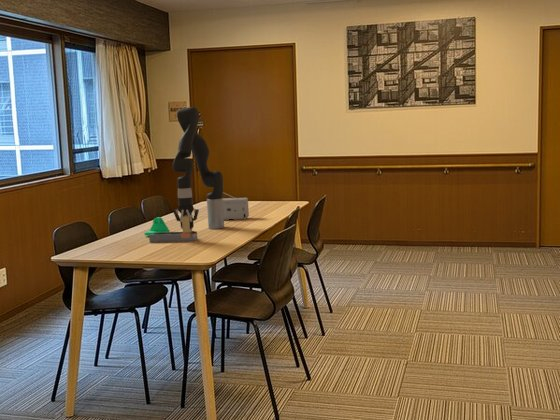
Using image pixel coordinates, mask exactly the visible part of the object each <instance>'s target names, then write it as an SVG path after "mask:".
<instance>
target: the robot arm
mask: <svg viewBox="0 0 560 420" xmlns="http://www.w3.org/2000/svg"><path fill="white" fill-rule="evenodd" d="M176 117H177V121H178V123H179V125H180V127H181V130H182V131H183V134H182V136H181V137H180V139H179V141H178V147H177V148H178V149H177V153H176V155H175V157H174V159H173V162H172V170H173V171H174V172H175V173H185V175H183V176H179V177H177V179H176V182H177V203H178V207H177V209H174V210H173V215H174V218H175V219H176V222H179V223H180V228H181V230H183V228H182V217H183V216H185V215H187V216H189V218H190V229H192V230H193V229H194V221H196V220H197V219H198V215H199V210H200V209H198V208H194V203H193V190H192V182H191V181H192V175H193V174H192V172H193V167H194V163H193V160H192V159H191V158H190V157H191V155H193V157H194V160H195V162H196V165H197V168H198V171H199V175H200V178H201V181H202V183H203V185H204V186H205V187H207V188H213V189H212V191H211V192H209V193H206V209H207V223H208V224H207V225H208V229H210V230H217V229H218V230H219V229H224V228H225V220H224V213H223V199H224V197H223V194H224V193H223V192H224V178H223V173H222V172H221V171H218V170H211V171H210V170H209V168H208V167H209V166H208V160H209V158H210V157H209V156H210V149H209V147H208V144H207V141H206V139H204V138H203V137H202V136H201V135H199V133H197V132H196V131H197V128H198V124H199V121H200V113H199V110H198V109H197V107H195V106H189V107H184V108H179V109H177V111H176ZM179 213H180V216H179ZM192 213H194V214H192Z"/></svg>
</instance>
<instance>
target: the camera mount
mask: <svg viewBox="0 0 560 420" xmlns="http://www.w3.org/2000/svg"><path fill="white" fill-rule="evenodd" d="M154 232H171V231H170V229H169V228H168V226H167V224H166V223H165V221H164V220H163V218H162V217H160V216H158V217H154V218H153V220H152V225H151V227H150V229H149V230H148V231H145V232H144V236H149V235H151V234H153V233H154Z"/></svg>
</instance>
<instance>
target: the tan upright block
mask: <svg viewBox="0 0 560 420" xmlns="http://www.w3.org/2000/svg"><path fill="white" fill-rule="evenodd" d="M182 228H183V229H182ZM182 228H181V229H182V232H183V233H191V234H192V231H193V228H192V229H190V218H189V216H187V215H185V216H183V217H182Z"/></svg>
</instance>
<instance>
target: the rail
mask: <svg viewBox="0 0 560 420" xmlns="http://www.w3.org/2000/svg"><path fill="white" fill-rule="evenodd" d="M148 239H149V243H187V242H189V243H191V242H195V241H197V240H198V231H195V230H192V234H191V233H183V231H170V232H154V233H153V234H151V235H148Z"/></svg>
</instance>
